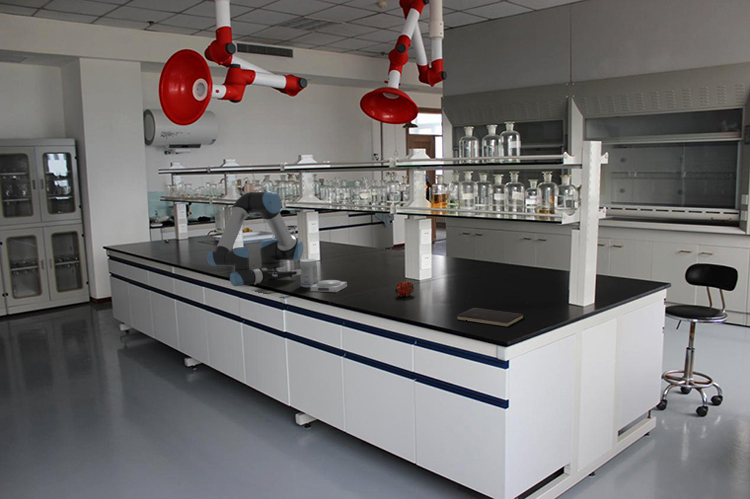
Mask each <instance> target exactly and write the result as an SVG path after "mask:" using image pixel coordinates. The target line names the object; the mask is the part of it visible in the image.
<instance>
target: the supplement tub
mask: <svg viewBox="0 0 750 499" xmlns="http://www.w3.org/2000/svg"><path fill="white" fill-rule="evenodd" d="M299 269H301V274H300V275H299V277H300V286H301V287H302V288H311V287H310V286H313V285H315V284H317V282H319V281H318V280H319V279H318V277H319V276H318V262H317V259H315V258H304V259H300V260H299Z"/></svg>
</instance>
